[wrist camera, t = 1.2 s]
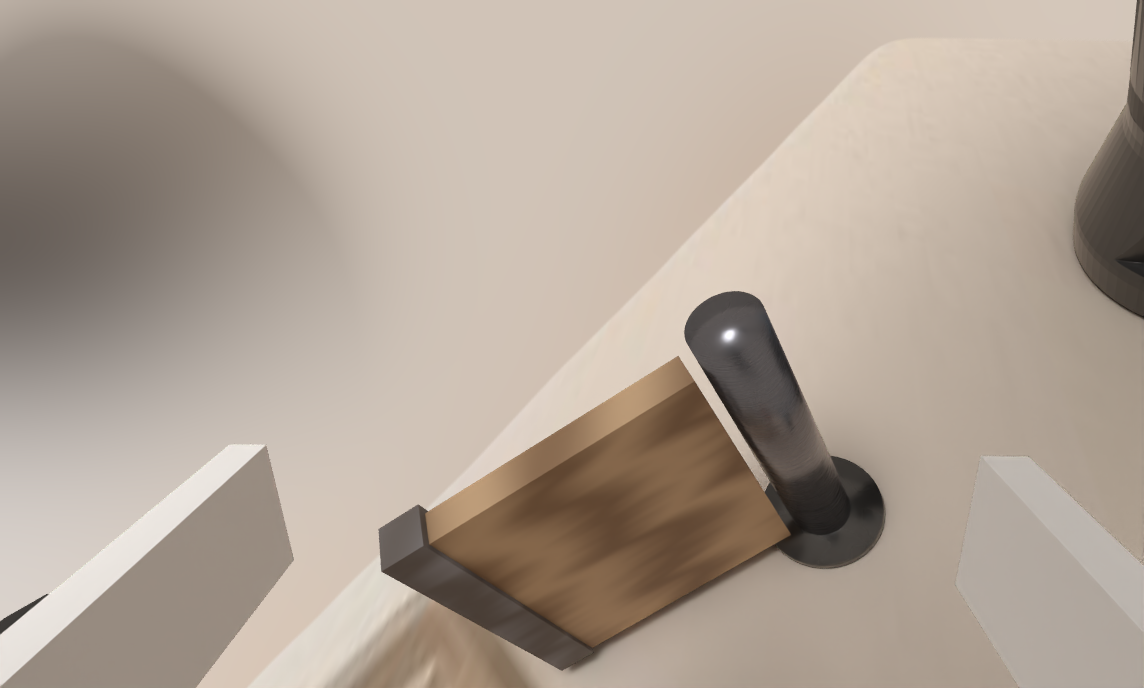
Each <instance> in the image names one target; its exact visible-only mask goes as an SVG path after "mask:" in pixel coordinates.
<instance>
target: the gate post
mask: <svg viewBox="0 0 1144 688" xmlns="http://www.w3.org/2000/svg"><path fill="white" fill-rule="evenodd" d="M684 334H685V340H686V342H687V344H688V346H689V348H690V349H691V351H692V353H693V354H694V356H695V358H696V359H697V361H698V363H699V364H700V366H701V368H702V369H703V371H704V373H705V374H706V376H707V378H708V379H709V381H710V383H711V384H712V386H713V388H714V389H715V391H716V393H717V394H718V396H719V398H720V399H721V401H722V403H723V404H724V406H725V408H726V409H727V411H728V413H729V414H730V416H731V418H732V419H733V421H734V423H735V424H736V426H737V427H738V429H739V431H740V432H741V434H742V436H743V437H744V439H745V441H746V442H747V444H748V446H749V447H750V449H751V451H752V452H753V454H754V456H755V457H756V459H757V461H758V462H759V464H760V466H761V467H762V469H763V471H764V472H765V474H766V476H767V477H768V479H769V481H770V483H769V485H768V486H767V489H766V491H765V494H766V496H767V497H768V499H769V500H770V502H771V504H772V505H773V507H774V508H775V510H776V512H777V513H778V515H779V516H780V518H781V519H782V521H783V523H784V524H785V526H786V527H787V529H788V531H789V532H790V534H791V535H790V536H788V537H786V538H784V539H783V540H781V541H779V542H777V543H776V544H775V545H776V547H777V548H778V549H779V550H780V551H781V552H782V553H783V554H785V555H786V556H787V557H789V558H790V559H792V560H794V561H796V562H798V563H800V564H803V565H806V566H809V567H814V568H836V567H841V566H845V565H847V564H850V563H853V562H854V561H856V560H858V559H860V558H861V557H863V556H864V555H865V554H867V553H868V552H869V551H870V550H871V549H872V548H873V546H874V545H875V544H876V542H877V541H878V539H879V537H880V535H881V533H882V530H883V526H884V522H885V508H884V503H883V499H882V496H881V494H880V491H879V489H878V487H877V485H876V483H875V482H874V480H873V479H872V478H871V477H870V475H869V474H867V473H866V472H865V471H864V470H863V469H862V468H860V467H859V466H858V465H856V464H854V463H852V462H850V461H848V460H845V459H842V458H838V457H833V456H830V455H829V453H828V450H827V448H826V446H825V443H824V441H823V439H822V437H821V434H820V432H819V430H818V428H817V425H816V423H815V421H814V419H813V416H812V414H811V412H810V410H809V407H808V405H807V403H806V401H805V398H804V396H803V394H802V392H801V389H800V387H799V385H798V383H797V380H796V378H795V376H794V374H793V371H792V369H791V367H790V365H789V362H788V360H787V358H786V356H785V353H784V351H783V349H782V347H781V344H780V342H779V340H778V338H777V335H776V333H775V331H774V329H773V326H772V324H771V322H770V320H769V317H768V315H767V313H766V310H765V308H764V306H763V304H762V303H761V301H760V300H759V299H758V298H756V297H755V296H753V295H751V294H749V293H745V292H739V291H732V292H725V293H721V294H718V295H715V296H713V297H711V298H709V299H707V300H706V301H704V302H703V303H701V304H700V305H699V306H698V307H697V308H696V309H695V310H694V311H693V312H692V314H691V315H690V316H689V318H688V320H687V322H686V325H685V331H684Z"/></svg>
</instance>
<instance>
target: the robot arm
mask: <svg viewBox="0 0 1144 688" xmlns="http://www.w3.org/2000/svg"><path fill="white" fill-rule="evenodd" d="M1073 240H1074V247H1075V251H1076V254H1077V257H1078V260H1079V262H1080V264H1081V266H1082V267H1083V269H1084V271H1085V272H1086V273H1087V275H1088V276H1089V277H1090V279H1091V280H1092V281H1093V282H1094V283H1095V284H1096V285H1097V286H1098V287H1099V288H1100V289H1101V290H1102V291H1103V292H1104V293H1106V294H1107V295H1108V296H1109V297H1111V298H1112V299H1113V300H1115V301H1116V302H1118V303H1119V304H1121V305H1123V306H1124V307H1126V308H1128V309H1129V310H1131V311H1133V312H1135V313H1137V314H1139V315H1141V316H1143V317H1144V0H1137V6H1136V16H1135V27H1134V37H1133V47H1132V58H1131V68H1130V81H1129V90H1128V98H1127V104H1126V105H1125V107H1124V109H1123V110H1122V112H1121V114H1120V116H1119V117H1118V119H1117V121H1116V123H1115V124H1114V126H1113V128H1112V129H1111V131H1110V133H1109V135H1108V136H1107V138H1106V140H1105V142H1104V143H1103V145H1102V147H1101V148H1100V150H1099V152H1098V154H1097V155H1096V157H1095V159H1094V161H1093V162H1092V164H1091V166H1090V167H1089V169H1088V171H1087V173H1086V174H1085V176H1084V178H1083V180H1082V182H1081V185H1080V188H1079V191H1078V194H1077V197H1076V202H1075V210H1074V230H1073ZM293 560H294V558H293V554H292V550H291V546H290V542H289V537H288V533H287V529H286V526H285V521H284V517H283V513H282V509H281V504H280V500H279V496H278V492H277V488H276V484H275V479H274V475H273V471H272V467H271V463H270V459H269V455H268V450H267V446H266V445H243V444H230V445H229V446H227V447H226V448H225V449H224V450H223V451H221V452H220V453H219V454H218V455H216V456H215V457H214V458H213V459H212V460H210V461H209V462H208V463H207V464H206V465H205V466H203V467H202V468H201V469H199V470H198V471H197V472H196V473H195V474H194V475H192V476H191V477H190V478H189V479H188V480H186V481H185V482H184V483H183V484H181V485H180V486H179V487H178V488H177V489H175V490H174V491H173V492H172V493H171V494H169V495H168V496H167V497H166V498H165V499H163V500H162V501H161V502H160V503H158V504H157V505H156V506H155V507H154V508H152V509H151V510H150V511H149V512H148V513H146V514H145V515H144V516H143V517H142V518H140V519H139V520H138V521H137V522H136V523H135V524H133V525H132V526H131V527H130V528H128V529H127V530H126V531H125V532H124V533H122V534H121V535H120V536H119V537H117V538H116V539H115V540H114V541H113V542H112V543H110V544H109V545H108V546H107V547H106V548H104V549H103V550H102V551H101V552H100V553H98V554H97V555H96V556H95V557H93V558H92V559H91V560H90V561H89V562H87V563H86V564H85V565H84V566H83V567H81V568H80V569H79V570H78V571H77V572H75V573H74V574H73V575H72V576H70V577H69V578H68V579H67V580H66V581H64V582H63V583H62V584H61V585H60V586H59V587H57V588H56V589H55V590H54V591H52V592H51V593H50V594H46V595H44V596H42V597H41V598H39V599H37V600H36V601H34V602H32V603H30V604H29V605H27V606H25V607H23V608H21V609H20V610H18V611H16V612H14V613H13V614H11V615H9V616H7V617H6V618H4V619H3V620H2V621H0V688H196V687H197V685H198V684H199V683H200V681H201V680H202V679H203V678H204V676H205V675H206V674H207V672H208V671H209V669H210V668H211V667H212V666H213V664H214V663H215V662H216V661H217V659H218V658H219V657H220V655H221V654H222V653H223V651H224V650H225V649H226V648H227V646H228V645H229V644H230V642H231V641H232V640H233V638H234V637H235V636H236V635H237V633H238V632H239V631H240V629H241V628H242V627H243V625H244V624H245V623H246V622H247V620H248V618H250V616H251V615H252V614H253V612H254V611H255V610H256V608H257V607H258V606H259V605H260V603H261V602H262V601H263V599H264V598H265V597H266V595H267V594H268V593H269V592H270V590H271V589H272V588H273V586H274V585H275V584H276V582H277V581H278V579H280V577H281V576H282V575H283V573H284V572H285V571H286V569H287V568H288V566H289V565H290V564H291V563H292V562H293ZM955 586H956V587H957V589H958V591H959V592H960V594H961V595H962V597H963V599H964V600H965V602H966V603H967V605H968V607H969V608H970V610H971V611H972V613H973V615H974V616H975V618H976V619H977V621H978V623H979V624H980V626H981V627H982V629H983V631H984V632H985V634H986V635H987V637H988V639H989V640H990V642H991V643H992V645H993V647H994V648H995V650H996V651H997V653H998V655H999V656H1000V658H1001V659H1002V661H1003V663H1004V664H1005V666H1006V667H1007V669H1008V671H1009V672H1010V674H1011V675H1012V677H1013V679H1014V680H1015V682H1016V683H1017V685H1018V687H1019V688H1144V566H1143V565H1142V564H1141V563H1140V562H1139V561H1138V560H1137V559H1136V558H1135V557H1134V556H1133V555H1132V554H1131V553H1130V552H1129V551H1128V550H1127V549H1126V548H1124V547H1123V546H1122V545H1121V544H1120V543H1119V542H1118V541H1117V540H1116V539H1115V538H1114V537H1113V536H1112V535H1111V534H1110V533H1109V532H1108V531H1107V530H1106V529H1104V528H1103V527H1102V526H1101V525H1100V524H1099V523H1098V522H1097V521H1096V520H1095V519H1094V518H1093V517H1092V516H1091V515H1090V514H1089V513H1088V512H1087V511H1086V510H1084V509H1083V508H1082V507H1081V506H1080V505H1079V504H1078V503H1077V502H1076V501H1075V500H1074V499H1073V498H1072V497H1071V496H1070V495H1069V494H1068V493H1067V492H1066V491H1064V490H1063V489H1062V488H1061V487H1060V486H1059V485H1058V484H1057V483H1056V482H1055V481H1054V480H1053V479H1052V478H1051V477H1050V476H1049V475H1048V474H1047V473H1046V472H1044V471H1043V470H1042V469H1041V468H1040V467H1039V466H1038V465H1037V464H1036V463H1035V462H1034V461H1033V460H1032V459H1031V458H1030V457H1029V456H980V461H979V466H978V471H977V476H976V481H975V486H974V491H973V496H972V501H971V506H970V511H969V516H968V521H967V526H966V531H965V536H964V541H963V546H962V551H961V556H960V561H959V566H958V571H957V577H956V582H955Z"/></svg>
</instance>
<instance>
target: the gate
mask: <svg viewBox="0 0 1144 688" xmlns="http://www.w3.org/2000/svg"><path fill="white" fill-rule="evenodd" d="M790 535H791V534H790V532H789V531H788V529H787V527H786V526H785V524H784V523H783V521H782V519H781V518H780V516H779V515H778V513H777V512H776V510H775V508H774V507H773V505H772V504H771V502H770V500H769V499H768V497H767V496H766V494H765V492H764V491H763V489H762V488H761V486H760V484H759V483H758V481H757V480H756V478H755V477H754V475H753V473H752V472H751V470H750V469H749V467H748V465H747V464H746V462H745V461H744V459H743V457H742V456H741V454H740V453H739V451H738V449H737V448H736V446H735V445H734V443H733V442H732V440H731V438H730V437H729V435H728V434H727V432H726V430H725V429H724V427H723V426H722V424H721V422H720V421H719V419H718V418H717V416H716V414H715V413H714V411H713V410H712V408H711V407H710V405H709V403H708V402H707V400H706V399H705V397H704V395H703V394H702V392H701V391H700V389H699V387H698V386H697V384H696V383H695V381H694V380H693V378H692V376H691V375H690V373H689V372H688V370H687V369H686V367H685V366H684V364H683V363H682V361H681V360H680V358H679V356H677V357H676V358H674V359H673V360H671V361H669V362H668V363H666V364H665V365H663V366H661V367H660V368H658V369H657V370H655V371H653V372H652V373H650V374H648V375H647V376H645V377H644V378H642V379H640V380H639V381H637V382H636V383H634V384H632V385H631V386H629V387H628V388H626V389H624V390H623V391H621V392H620V393H618V394H616V395H615V396H613V397H612V398H610V399H608V400H607V401H605V402H603V403H602V404H600V405H599V406H597V407H595V408H594V409H592V410H591V411H589V412H587V413H586V414H584V415H583V416H581V417H579V418H578V419H576V420H575V421H573V422H571V423H570V424H568V425H567V426H565V427H563V428H562V429H560V430H558V431H557V432H555V433H554V434H552V435H550V436H549V437H547V438H546V439H544V440H542V441H541V442H539V443H538V444H536V445H534V446H533V447H531V448H530V449H528V450H526V451H525V452H523V453H522V454H520V455H518V456H517V457H515V458H513V459H512V460H510V461H509V462H507V463H505V464H504V465H502V466H501V467H499V468H497V469H496V470H494V471H493V472H491V473H489V474H488V475H486V476H485V477H483V478H481V479H480V480H478V481H477V482H475V483H473V484H472V485H470V486H468V487H467V488H465V489H464V490H462V491H460V492H459V493H457V494H456V495H454V496H452V497H451V498H449V499H448V500H446V501H444V502H443V503H441V504H440V505H438V506H436V507H435V508H433V509H432V510H430V511H427V510H426V509H424V508H423V507H421V506H420V505H417V506H415V507H413V508H412V509H410V510H409V511H407V512H405V513H404V514H402V515H401V516H399V517H397V518H396V519H394V520H393V521H391V522H389V523H388V524H386V525H385V526H383V527H381V528H380V529H379V542H380V558H381V572H383V573H385V574H387V575H389V576H390V577H392V578H394V579H396V580H398V581H400V582H401V583H403V584H405V585H407V586H409V587H410V588H412V589H414V590H416V591H418V592H420V593H421V594H423V595H425V596H427V597H429V598H431V599H432V600H434V601H436V602H438V603H440V604H441V605H443V606H445V607H447V608H449V609H451V610H452V611H454V612H456V613H458V614H460V615H461V616H463V617H465V618H467V619H469V620H471V621H472V622H474V623H476V624H478V625H480V626H482V627H483V628H485V629H487V630H489V631H491V632H492V633H494V634H496V635H498V636H500V637H502V638H503V639H505V640H507V641H509V642H511V643H513V644H514V645H516V646H518V647H520V648H522V649H523V650H525V651H527V652H529V653H531V654H533V655H534V656H536V657H538V658H540V659H542V660H543V661H545V662H547V663H549V664H551V665H553V666H554V667H556V668H558V669H560V670H564V669H566V668H567V667H569V666H571V665H573V664H574V663H576V662H578V661H580V660H581V659H583V658H585V657H587V656H588V655H590V654H592V653H594V652H593V649H592V648H593V647H595V646H597V645H598V644H600V643H602V642H604V641H605V640H607V639H609V638H611V637H612V636H614V635H616V634H618V633H619V632H621V631H623V630H625V629H626V628H628V627H630V626H632V625H634V624H635V623H637V622H639V621H641V620H642V619H644V618H646V617H648V616H649V615H651V614H653V613H655V612H656V611H658V610H660V609H662V608H663V607H665V606H667V605H669V604H670V603H672V602H674V601H676V600H677V599H679V598H681V597H683V596H684V595H686V594H688V593H690V592H691V591H693V590H695V589H697V588H698V587H700V586H702V585H704V584H705V583H707V582H709V581H711V580H712V579H714V578H716V577H718V576H719V575H721V574H723V573H725V572H727V571H728V570H730V569H732V568H734V567H735V566H737V565H739V564H741V563H742V562H744V561H746V560H748V559H749V558H751V557H753V556H755V555H756V554H758V553H760V552H762V551H763V550H765V549H767V548H769V547H770V546H772V545H774V544H776V543H777V542H779V541H781V540H783V539H784V538H786V537H788V536H790Z"/></svg>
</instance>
